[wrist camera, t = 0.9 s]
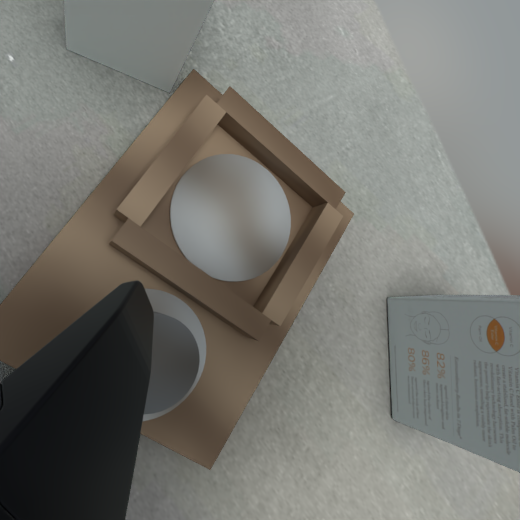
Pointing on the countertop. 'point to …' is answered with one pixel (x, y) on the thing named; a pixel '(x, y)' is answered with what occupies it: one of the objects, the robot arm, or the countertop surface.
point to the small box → (458, 370)
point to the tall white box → (136, 35)
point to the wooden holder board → (191, 259)
